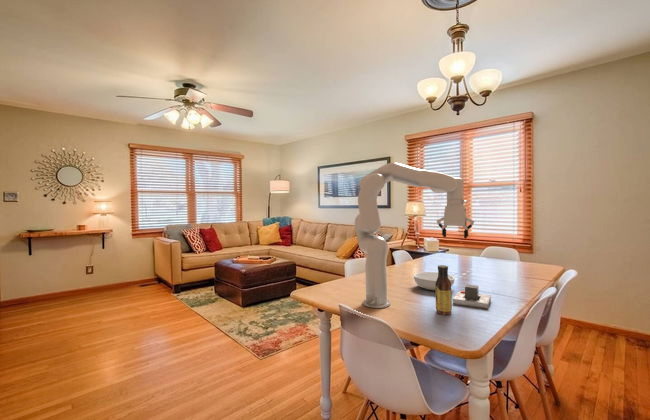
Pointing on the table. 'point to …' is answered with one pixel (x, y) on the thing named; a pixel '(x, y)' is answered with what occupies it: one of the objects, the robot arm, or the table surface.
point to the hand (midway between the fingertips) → (454, 237)
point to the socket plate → (472, 300)
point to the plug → (471, 292)
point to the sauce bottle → (443, 291)
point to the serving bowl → (429, 279)
